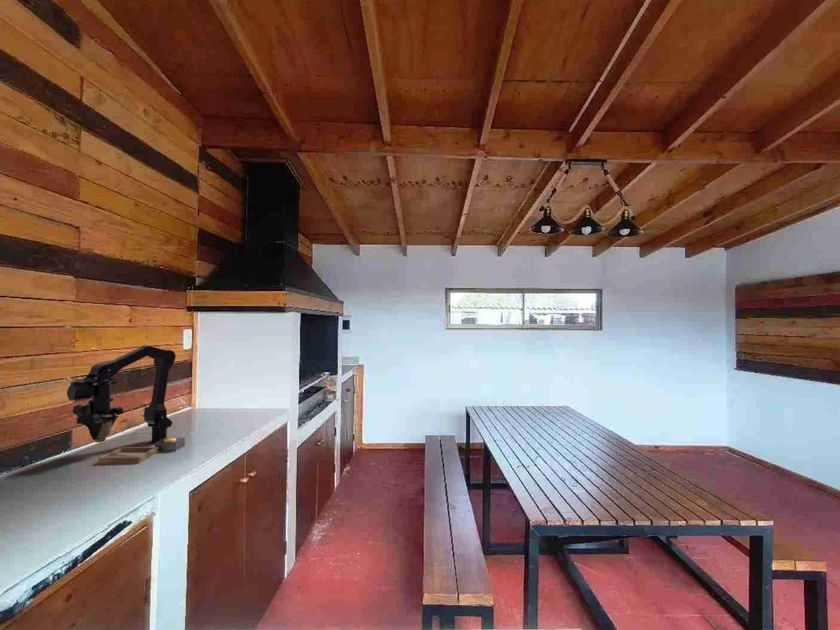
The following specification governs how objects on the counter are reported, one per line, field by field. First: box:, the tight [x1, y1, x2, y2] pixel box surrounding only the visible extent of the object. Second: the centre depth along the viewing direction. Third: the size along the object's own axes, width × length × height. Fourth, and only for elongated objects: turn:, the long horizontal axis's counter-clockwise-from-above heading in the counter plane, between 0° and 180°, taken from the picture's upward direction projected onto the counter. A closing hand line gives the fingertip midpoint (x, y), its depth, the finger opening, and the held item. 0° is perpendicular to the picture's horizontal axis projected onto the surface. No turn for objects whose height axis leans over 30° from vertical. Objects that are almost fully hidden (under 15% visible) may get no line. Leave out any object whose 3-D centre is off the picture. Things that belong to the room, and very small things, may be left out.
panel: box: [154, 436, 186, 452], centre depth 175 cm, size 8×8×4 cm
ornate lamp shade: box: [88, 419, 113, 443], centre depth 165 cm, size 8×7×8 cm
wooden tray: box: [97, 446, 160, 465], centre depth 162 cm, size 14×14×2 cm
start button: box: [164, 437, 176, 442], centre depth 175 cm, size 4×4×2 cm
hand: (100, 437), depth 165 cm, fingers closed on ornate lamp shade, 6 cm apart
